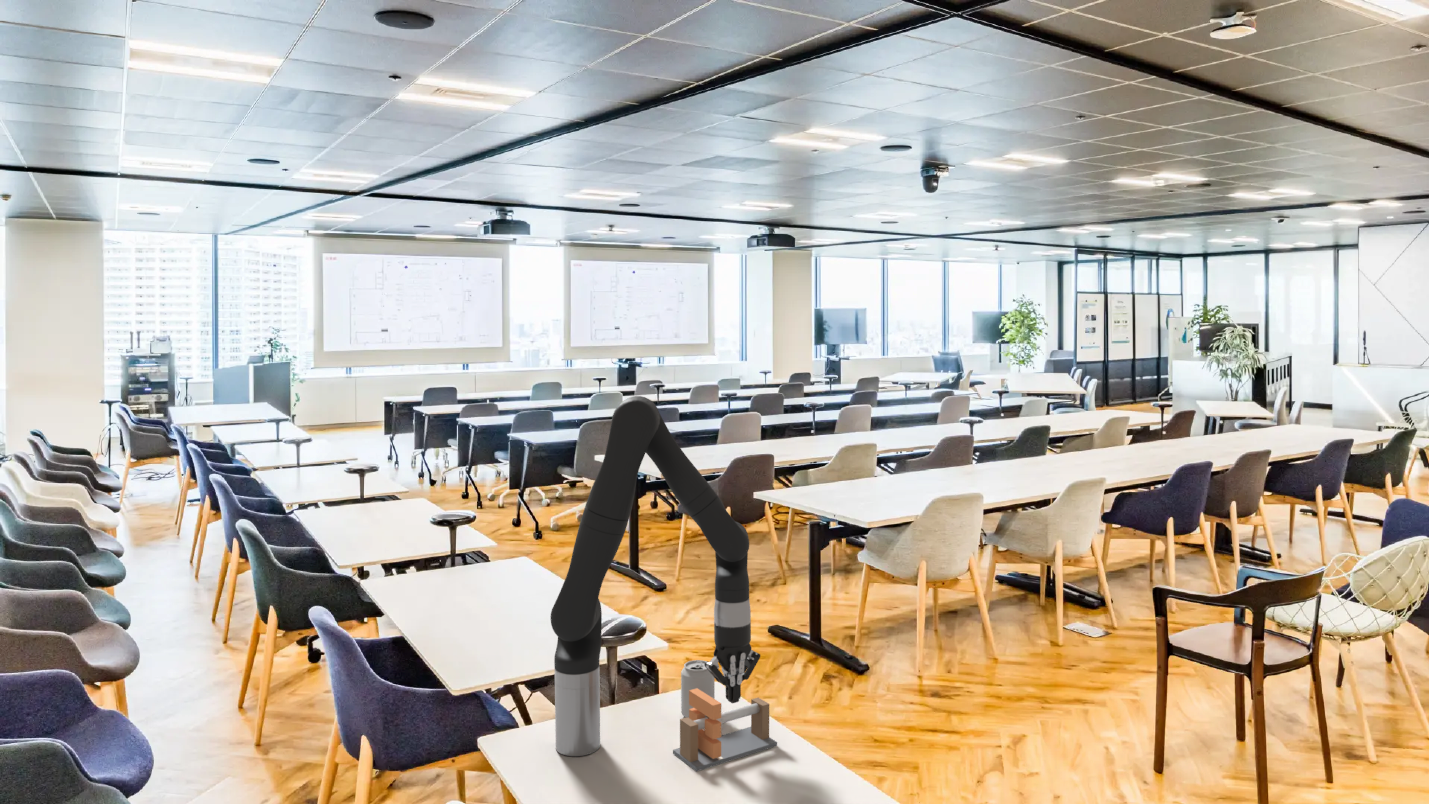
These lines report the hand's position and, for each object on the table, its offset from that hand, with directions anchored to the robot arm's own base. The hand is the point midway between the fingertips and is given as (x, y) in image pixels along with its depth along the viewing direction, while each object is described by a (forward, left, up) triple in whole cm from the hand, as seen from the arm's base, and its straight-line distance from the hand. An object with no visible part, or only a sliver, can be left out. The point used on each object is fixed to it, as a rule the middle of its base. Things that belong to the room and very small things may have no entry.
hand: (733, 701), depth 188 cm
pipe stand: (0, -2, -10) cm, 10 cm away
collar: (0, -7, -9) cm, 11 cm away
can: (-17, +2, -10) cm, 20 cm away
